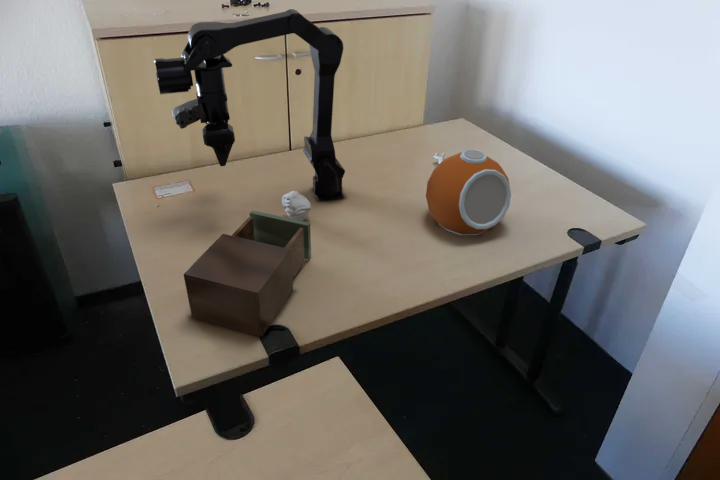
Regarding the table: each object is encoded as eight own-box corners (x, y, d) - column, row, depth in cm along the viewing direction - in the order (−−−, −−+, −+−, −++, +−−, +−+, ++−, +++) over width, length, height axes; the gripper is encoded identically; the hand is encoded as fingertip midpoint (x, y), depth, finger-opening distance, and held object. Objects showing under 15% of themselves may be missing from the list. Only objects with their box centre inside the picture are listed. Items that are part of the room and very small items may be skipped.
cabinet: (228, 275, 109) (222, 233, 103) (293, 291, 106) (291, 249, 100) (191, 317, 99) (183, 273, 93) (262, 337, 95) (258, 292, 89)
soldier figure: (450, 165, 155) (472, 171, 144) (440, 178, 155) (461, 185, 144) (433, 147, 151) (454, 152, 140) (422, 161, 151) (442, 167, 140)
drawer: (264, 232, 120) (262, 199, 115) (319, 245, 117) (318, 211, 112) (226, 277, 107) (221, 242, 102) (286, 292, 104) (284, 256, 99)
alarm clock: (447, 249, 119) (458, 180, 109) (410, 210, 132) (417, 145, 122) (518, 232, 125) (535, 165, 115) (476, 196, 138) (488, 133, 128)
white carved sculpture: (291, 209, 130) (290, 184, 126) (316, 217, 128) (316, 191, 124) (277, 221, 126) (275, 195, 122) (303, 229, 123) (303, 203, 119)
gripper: (170, 77, 118) (183, 143, 127) (171, 108, 103) (185, 180, 112) (222, 73, 120) (231, 138, 130) (230, 103, 106) (239, 174, 115)
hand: (221, 156), depth 121 cm, fingers open, 9 cm apart
